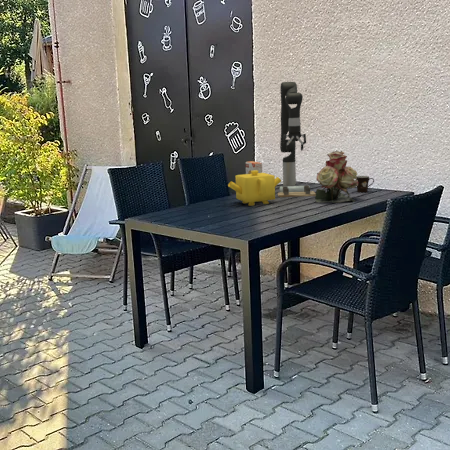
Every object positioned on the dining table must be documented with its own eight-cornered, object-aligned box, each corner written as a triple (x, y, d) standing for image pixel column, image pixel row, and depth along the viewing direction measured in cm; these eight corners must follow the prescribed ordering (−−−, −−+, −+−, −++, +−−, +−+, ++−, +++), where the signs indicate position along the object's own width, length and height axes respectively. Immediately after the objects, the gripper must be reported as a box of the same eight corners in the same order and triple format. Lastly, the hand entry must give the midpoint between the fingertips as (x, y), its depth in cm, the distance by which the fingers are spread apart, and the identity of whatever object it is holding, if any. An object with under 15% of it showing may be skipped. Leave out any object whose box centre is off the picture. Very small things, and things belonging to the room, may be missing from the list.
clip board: (277, 194, 390) (277, 186, 388) (313, 193, 389) (313, 185, 388) (278, 197, 379) (278, 189, 378) (316, 195, 378) (315, 187, 377)
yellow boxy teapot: (270, 196, 382) (270, 165, 378) (290, 203, 355) (290, 170, 351) (220, 201, 371) (218, 170, 367) (237, 209, 344) (235, 175, 340)
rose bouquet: (314, 204, 351) (313, 153, 345) (318, 195, 379) (318, 149, 372) (358, 204, 345) (358, 153, 338) (359, 195, 372) (359, 148, 366)
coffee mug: (355, 192, 383) (355, 177, 381) (356, 190, 391) (356, 175, 389) (373, 192, 380) (373, 177, 378) (374, 190, 388) (374, 175, 386)
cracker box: (246, 191, 406) (245, 161, 402) (253, 190, 409) (252, 160, 404) (255, 194, 394) (254, 163, 389) (263, 193, 396) (262, 162, 392)
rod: (280, 193, 394) (280, 187, 393) (279, 192, 398) (279, 186, 397) (310, 192, 393) (310, 186, 392) (309, 191, 397) (309, 185, 396)
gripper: (305, 124, 375) (305, 149, 378) (282, 125, 375) (283, 150, 379) (306, 124, 367) (306, 150, 371) (283, 125, 368) (284, 151, 371)
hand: (294, 150), depth 375 cm, fingers open, 8 cm apart
